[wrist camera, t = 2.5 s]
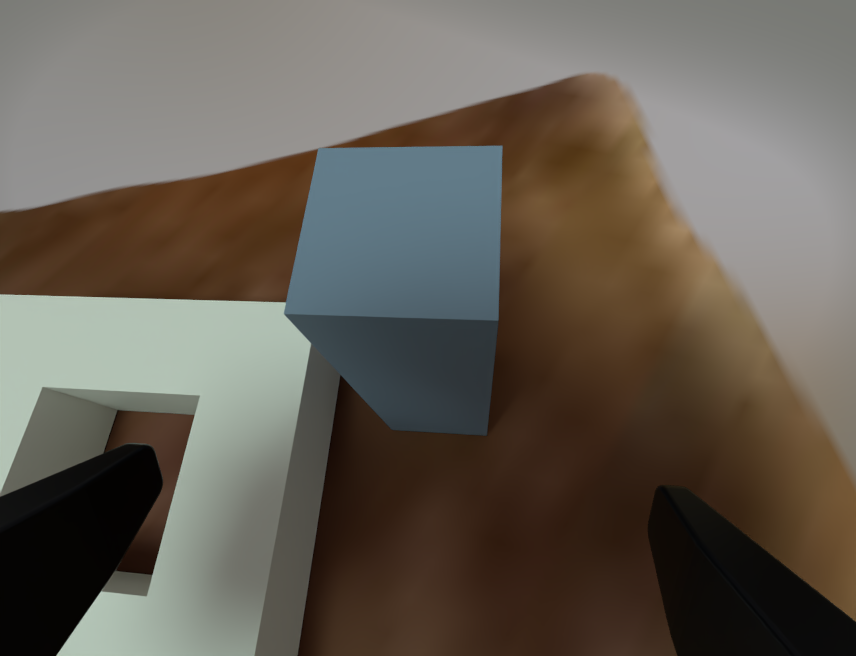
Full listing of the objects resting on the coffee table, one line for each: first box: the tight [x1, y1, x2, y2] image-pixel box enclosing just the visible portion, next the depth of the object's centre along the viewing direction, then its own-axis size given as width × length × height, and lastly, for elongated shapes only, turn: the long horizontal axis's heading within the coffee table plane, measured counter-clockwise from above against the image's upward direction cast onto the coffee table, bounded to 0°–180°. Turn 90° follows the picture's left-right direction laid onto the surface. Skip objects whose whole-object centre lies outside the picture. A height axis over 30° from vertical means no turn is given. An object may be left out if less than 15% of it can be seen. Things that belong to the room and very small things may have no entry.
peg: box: [284, 146, 502, 436], centre depth 15 cm, size 4×4×12 cm
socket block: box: [0, 295, 340, 656], centre depth 18 cm, size 14×14×4 cm
